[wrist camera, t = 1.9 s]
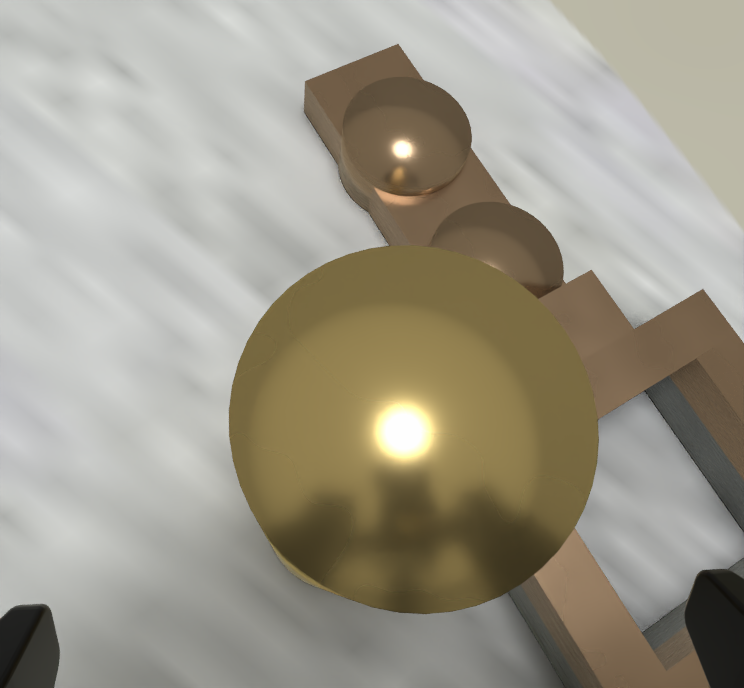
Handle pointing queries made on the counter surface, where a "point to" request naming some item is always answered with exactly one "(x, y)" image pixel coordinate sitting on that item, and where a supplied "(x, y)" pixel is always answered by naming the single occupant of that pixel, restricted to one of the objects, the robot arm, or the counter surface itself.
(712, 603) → the robot arm
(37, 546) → the counter surface
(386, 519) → the brass pin
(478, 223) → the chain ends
